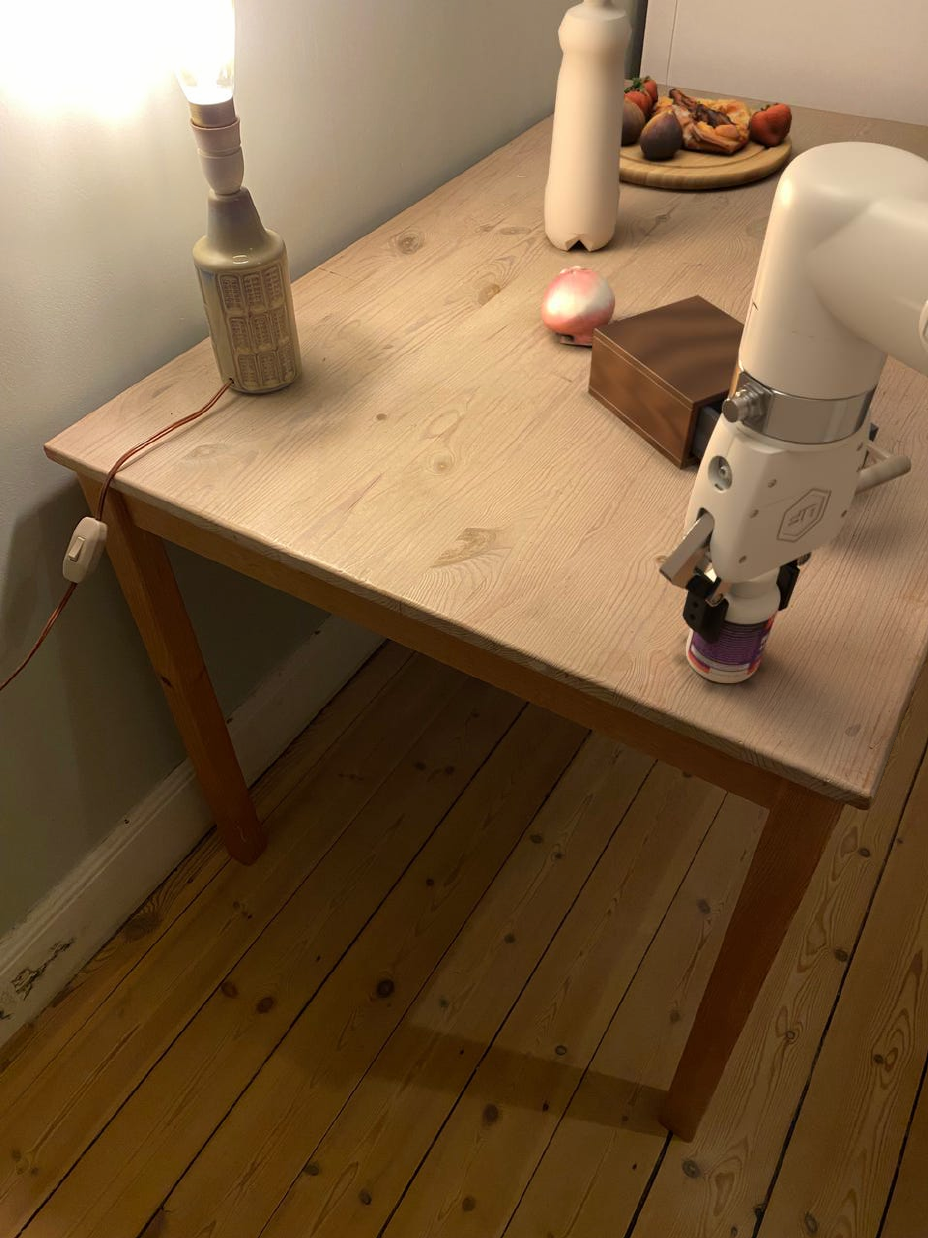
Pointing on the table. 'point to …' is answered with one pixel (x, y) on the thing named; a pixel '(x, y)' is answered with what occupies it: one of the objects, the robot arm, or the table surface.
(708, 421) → the drawer
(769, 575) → the pill bottle
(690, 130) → the wooden plate
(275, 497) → the table surface
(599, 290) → the onion
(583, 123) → the bottle
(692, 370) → the cabinet
